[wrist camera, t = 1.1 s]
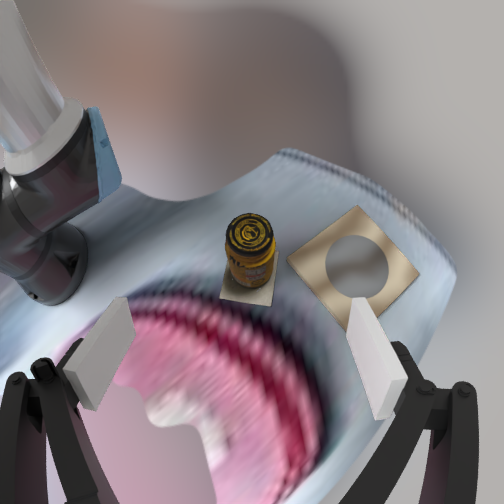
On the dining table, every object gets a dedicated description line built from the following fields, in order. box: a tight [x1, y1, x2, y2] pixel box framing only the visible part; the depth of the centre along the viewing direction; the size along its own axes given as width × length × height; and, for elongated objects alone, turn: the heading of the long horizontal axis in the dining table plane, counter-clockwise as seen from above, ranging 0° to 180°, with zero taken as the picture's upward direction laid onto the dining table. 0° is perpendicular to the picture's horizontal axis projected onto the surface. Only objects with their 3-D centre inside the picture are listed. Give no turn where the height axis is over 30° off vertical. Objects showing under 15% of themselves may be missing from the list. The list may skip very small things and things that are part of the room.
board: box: [286, 205, 419, 333], centre depth 43 cm, size 15×15×1 cm
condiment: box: [220, 213, 279, 306], centre depth 38 cm, size 7×8×12 cm
